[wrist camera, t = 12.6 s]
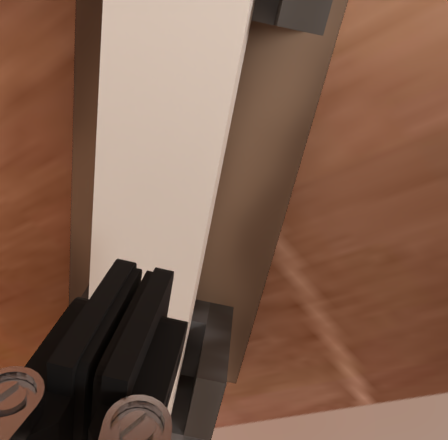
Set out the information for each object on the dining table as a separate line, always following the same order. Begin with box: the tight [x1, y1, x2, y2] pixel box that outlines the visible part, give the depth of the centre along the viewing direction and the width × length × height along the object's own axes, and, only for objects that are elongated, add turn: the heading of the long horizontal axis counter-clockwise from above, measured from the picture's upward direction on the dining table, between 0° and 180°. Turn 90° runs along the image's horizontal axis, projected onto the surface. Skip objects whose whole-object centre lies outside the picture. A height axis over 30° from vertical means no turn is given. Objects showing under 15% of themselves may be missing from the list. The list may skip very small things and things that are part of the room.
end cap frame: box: [69, 0, 348, 440], centre depth 20 cm, size 12×29×8 cm, turn 169°
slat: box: [88, 0, 255, 415], centre depth 17 cm, size 22×4×6 cm, turn 169°
